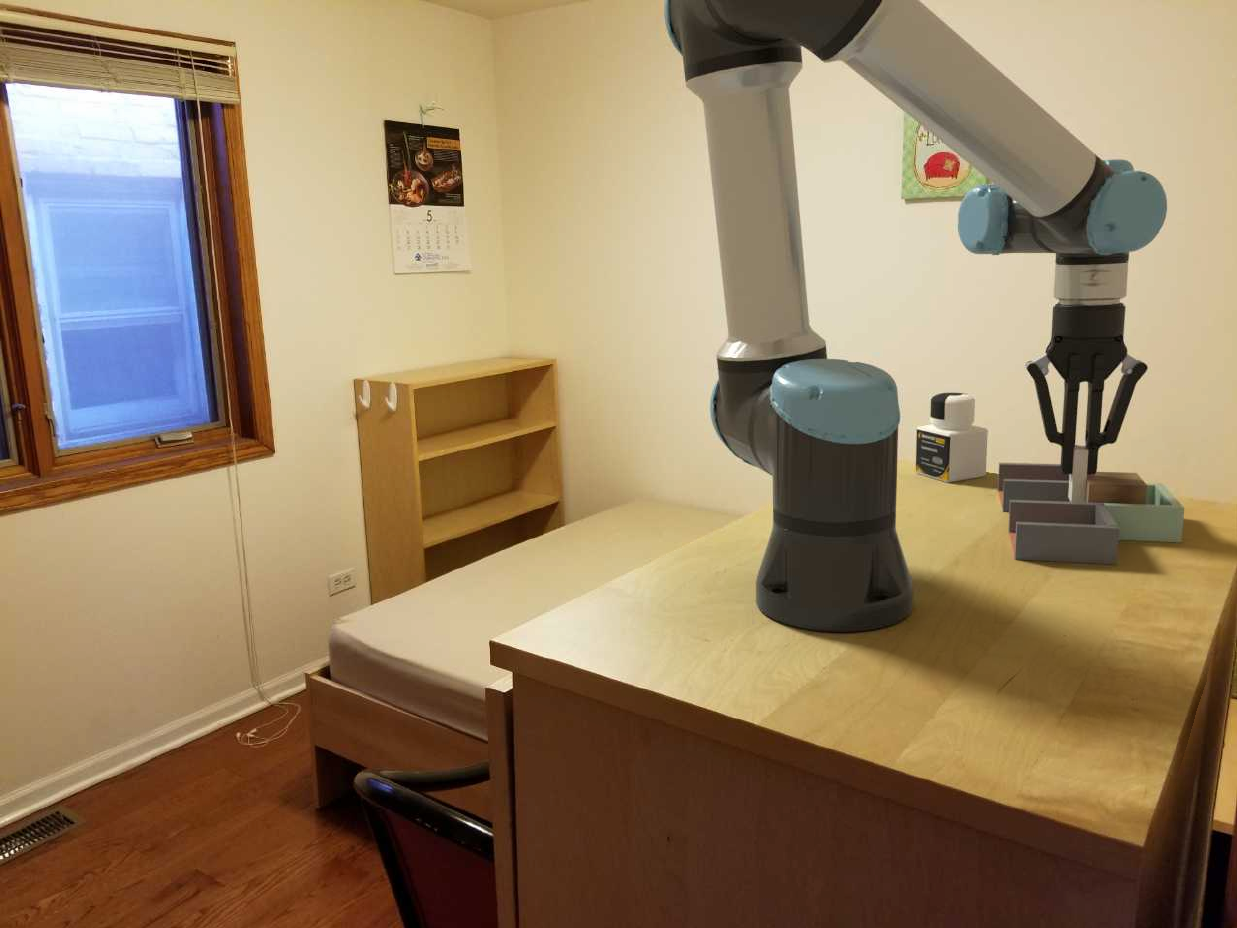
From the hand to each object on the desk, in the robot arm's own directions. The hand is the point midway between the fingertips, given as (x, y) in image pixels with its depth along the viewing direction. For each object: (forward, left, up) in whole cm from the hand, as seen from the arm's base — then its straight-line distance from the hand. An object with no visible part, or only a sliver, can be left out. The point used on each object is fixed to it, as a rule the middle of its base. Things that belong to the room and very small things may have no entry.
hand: (1076, 500), depth 116 cm
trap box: (+1, 0, -3) cm, 3 cm away
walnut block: (+4, -1, -3) cm, 5 cm away
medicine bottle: (-14, +23, -3) cm, 27 cm away
